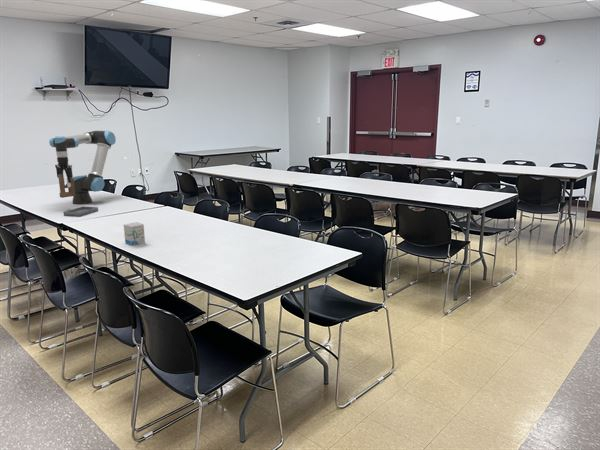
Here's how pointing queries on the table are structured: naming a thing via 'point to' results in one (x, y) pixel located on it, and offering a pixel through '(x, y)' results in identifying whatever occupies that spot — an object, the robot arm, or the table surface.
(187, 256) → the table surface
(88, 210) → the tray
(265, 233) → the table surface
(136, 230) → the ink box
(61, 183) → the brown tapered wooden part
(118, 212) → the table surface
